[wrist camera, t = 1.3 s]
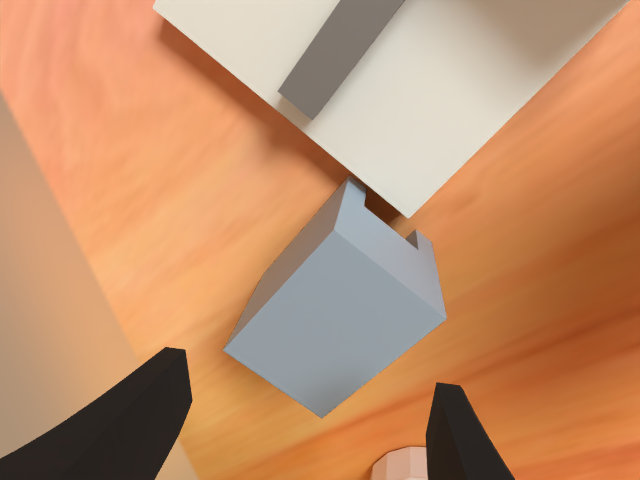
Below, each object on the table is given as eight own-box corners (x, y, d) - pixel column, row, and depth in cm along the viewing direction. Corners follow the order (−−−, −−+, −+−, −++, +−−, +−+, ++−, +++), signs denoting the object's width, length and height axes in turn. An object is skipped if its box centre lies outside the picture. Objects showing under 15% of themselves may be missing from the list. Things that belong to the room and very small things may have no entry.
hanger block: (431, 241, 20) (447, 318, 14) (337, 328, 23) (321, 418, 17) (349, 174, 19) (333, 229, 14) (263, 273, 22) (222, 350, 17)
